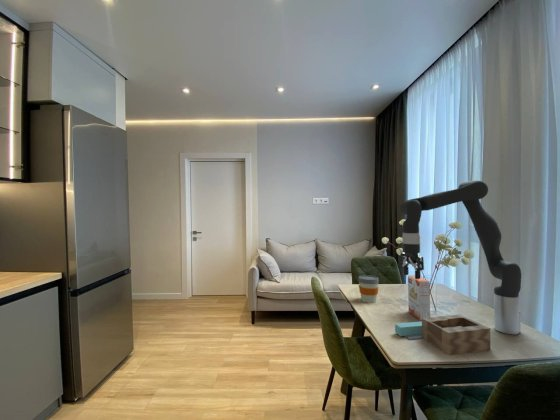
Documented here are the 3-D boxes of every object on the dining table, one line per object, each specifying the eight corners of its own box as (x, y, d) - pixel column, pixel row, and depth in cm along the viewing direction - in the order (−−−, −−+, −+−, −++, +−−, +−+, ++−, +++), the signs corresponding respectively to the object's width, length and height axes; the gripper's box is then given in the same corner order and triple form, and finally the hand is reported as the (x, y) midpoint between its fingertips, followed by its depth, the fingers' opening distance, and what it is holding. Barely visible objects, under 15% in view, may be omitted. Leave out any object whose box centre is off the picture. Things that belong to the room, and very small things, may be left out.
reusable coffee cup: (380, 304, 178) (380, 280, 178) (359, 303, 180) (359, 279, 180) (377, 297, 190) (376, 275, 190) (357, 297, 192) (357, 274, 192)
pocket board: (459, 333, 135) (459, 314, 135) (490, 349, 119) (490, 328, 119) (421, 337, 131) (421, 318, 131) (448, 355, 116) (448, 332, 116)
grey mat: (415, 328, 141) (415, 327, 141) (429, 337, 131) (429, 336, 131) (396, 330, 139) (396, 329, 139) (409, 340, 129) (409, 338, 129)
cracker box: (407, 311, 165) (407, 275, 165) (418, 311, 165) (417, 274, 165) (419, 320, 151) (418, 281, 151) (430, 320, 151) (430, 281, 151)
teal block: (421, 329, 138) (421, 321, 138) (428, 333, 134) (428, 325, 134) (395, 332, 136) (395, 323, 136) (400, 336, 132) (400, 327, 132)
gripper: (428, 243, 129) (429, 279, 129) (408, 240, 143) (409, 273, 143) (413, 244, 127) (414, 281, 127) (395, 241, 141) (395, 273, 141)
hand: (411, 276), depth 135 cm, fingers open, 8 cm apart
